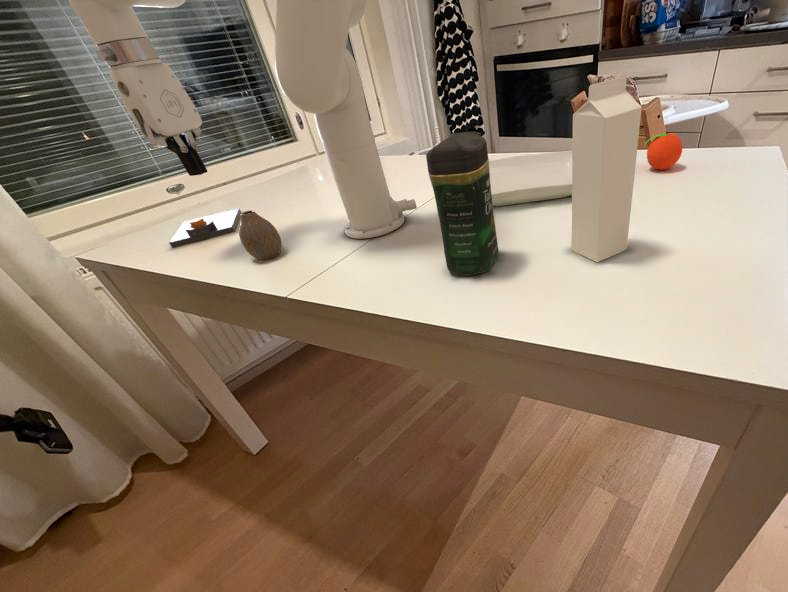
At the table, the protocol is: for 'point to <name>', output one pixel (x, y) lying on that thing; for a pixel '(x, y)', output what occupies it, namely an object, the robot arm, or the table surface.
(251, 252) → the vase
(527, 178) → the square plate
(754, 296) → the table surface
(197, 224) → the orange angular block
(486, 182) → the coffee jar
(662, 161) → the tomato
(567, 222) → the table surface
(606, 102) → the milk
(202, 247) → the table surface
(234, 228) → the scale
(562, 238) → the table surface
